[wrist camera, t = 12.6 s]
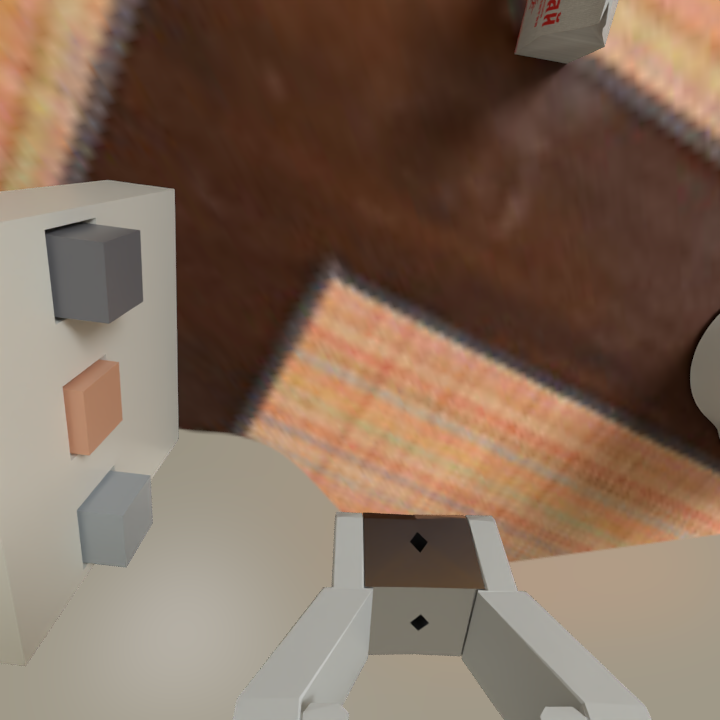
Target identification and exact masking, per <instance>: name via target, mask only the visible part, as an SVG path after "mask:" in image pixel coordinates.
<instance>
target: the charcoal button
mask: <svg viewBox="0 0 720 720" xmlns="http://www.w3.org/2000/svg"><path fill="white" fill-rule="evenodd" d="M45 238H46V247H47V256H48V265H49V273H50V282H51V291H52V299H53V308H54V317H60V318H68V319H76V320H84V321H91V322H99V323H107V324H110V323H111V322H113V321H114V320H116V319H117V318H119V317H120V316H122V315H123V314H125V313H126V312H128V311H129V310H131V309H132V308H134V307H136V306H137V305H139V304H140V303H142V302H143V283H142V259H141V235H140V230H135V229H128V228H120V227H112V226H105V225H97V224H90V223H82V222H76V223H71V224H67V225H63V226H59V227H55V228H51V229H46V230H45Z"/></svg>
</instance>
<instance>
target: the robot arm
mask: <svg viewBox="0 0 720 720" xmlns="http://www.w3.org/2000/svg"><path fill="white" fill-rule="evenodd" d="M690 385H691V391H692V395H693V398H694V400H695V402H696V404H697V406H698V408H699V409H700V411H701V412H702V413H703V414H704V415H705V416H706V417H707V418H708V419H709V420H710V421H711V422H712V423H713V424H714V426H715V427H716V428H717V430H718V433H719V437H720V314H719V315H718V316H717V317H716V318H715V319H714V321H713V322H712V323H711V324H710V326H709V327H708V329H707V330H706V331H705V333H704V335H703V336H702V338H701V340H700V342H699V344H698V346H697V348H696V351H695V353H694V357H693V360H692V365H691V371H690ZM334 530H335V531H334V549H333V570H332V587H324V588H323V589H322V590H321V591H320V592H319V594H318V595H317V596H316V598H315V599H314V600H313V602H312V603H311V604H310V605H309V607H308V608H307V609H306V610H305V612H304V613H303V614H302V616H301V617H300V618H299V620H298V621H297V622H296V623H295V625H294V626H293V627H292V629H291V630H290V631H289V632H288V634H287V635H286V636H285V638H284V639H283V640H282V641H281V643H280V644H279V646H278V647H277V648H276V649H275V651H274V652H273V653H272V654H271V656H270V657H269V658H268V660H267V661H266V662H265V663H264V665H263V666H262V668H260V670H259V671H258V672H257V674H256V675H255V676H254V677H253V679H252V680H251V681H250V683H249V684H248V686H246V688H245V689H244V691H243V692H242V693H241V694H240V696H239V697H238V698H237V702H236V706H235V711H234V716H233V720H349V713H348V712H347V711H346V710H345V709H344V708H343V707H342V705H343V703H344V701H345V700H346V698H347V696H348V694H349V692H350V690H351V689H352V687H353V685H354V683H355V681H356V679H357V677H358V676H359V674H360V672H361V670H362V668H363V666H364V664H365V662H366V661H367V659H368V655H373V654H375V655H376V654H378V655H379V654H423V655H445V656H446V655H447V656H462V660H463V662H464V663H465V664H466V666H467V667H468V669H469V670H470V672H471V673H472V675H473V676H474V677H475V679H476V680H477V681H478V683H479V685H480V686H481V688H482V689H483V690H484V692H485V693H486V695H487V696H488V698H489V699H490V700H491V702H492V703H493V705H494V706H495V708H496V709H497V711H498V712H499V713H500V715H501V716H502V718H503V719H504V720H652V719H651V717H650V714H649V712H648V710H647V708H646V706H645V705H644V704H643V703H642V702H641V701H640V700H639V699H638V698H637V697H636V696H635V695H634V694H632V693H631V692H630V691H629V690H628V689H627V688H626V687H625V686H624V685H623V684H622V683H621V682H620V681H619V680H618V679H617V678H616V677H615V676H614V675H613V674H612V673H610V671H608V669H607V668H605V667H604V666H603V665H602V664H601V663H600V662H599V661H598V660H597V659H596V658H595V657H594V656H593V655H592V654H591V653H590V652H589V651H588V650H587V649H586V648H585V647H583V645H581V644H580V643H579V642H578V641H577V640H576V639H575V638H574V637H573V636H572V635H571V634H570V633H569V632H568V631H567V630H566V629H565V628H564V627H563V626H562V625H561V624H560V623H559V622H558V621H556V620H555V619H554V618H553V617H552V616H551V615H550V614H549V613H548V612H547V611H546V610H545V609H544V608H543V607H542V606H541V605H540V604H539V603H538V602H537V601H536V600H534V598H532V597H531V596H530V595H529V594H528V593H527V592H525V591H518V590H517V587H516V584H515V581H514V578H513V574H512V571H511V568H510V565H509V562H508V559H507V556H506V553H505V549H504V546H503V543H502V540H501V537H500V534H499V531H498V528H497V525H496V521H495V519H494V518H493V517H492V516H473V515H466V516H464V515H400V514H380V513H363V516H362V513H350V512H336V516H335V529H334Z"/></svg>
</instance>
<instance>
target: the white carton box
mask: <svg viewBox="0 0 720 720" xmlns="http://www.w3.org/2000/svg"><path fill="white" fill-rule="evenodd" d="M617 4H618V0H527V3H526V7H525V11H524V15H523V19H522V24H521V28H520V32H519V36H518V40H517V44H516V48H515V53H514V54H517V55H523V56H528V57H534V58H539V59H544V60H550V61H555V62H561V63H566V64H568V63H570V62H572V61H574V60H576V59H579V58H581V57H583V56H585V55H587V54H590V53H592V52H594V51H596V50H599V49H601V48H603V47H605V44H606V40H607V37H608V34H609V30H610V27H611V24H612V20H613V17H614V14H615V10H616V7H617Z"/></svg>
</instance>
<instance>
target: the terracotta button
mask: <svg viewBox="0 0 720 720" xmlns="http://www.w3.org/2000/svg"><path fill="white" fill-rule="evenodd" d="M63 395H64V404H65V413H66V421H67V430H68V439H69V448H70V453H72V454H80V455H89V456H90V455H91V453H92V452H93V451H94V450H95V449H96V448H97V447H98V446H99V445H100V444H101V443H102V442H103V441H104V439H105V438H106V437H107V436H108V435H109V434H110V433H111V432H112V431H113V430H114V429H115V428H116V427H117V425H118V424H119V423H120V422H121V421H122V420H123V418H122V402H121V387H120V372H119V362H115V361H107V360H97V361H96V362H95V363H93V364H92V365H91V366H89V367H88V368H87V369H85V370H84V371H83V372H81V373H80V374H79V375H77V376H76V377H75V378H74V379H72V380H71V381H70V382H68V383H67V384H66V385H64V386H63Z"/></svg>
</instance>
